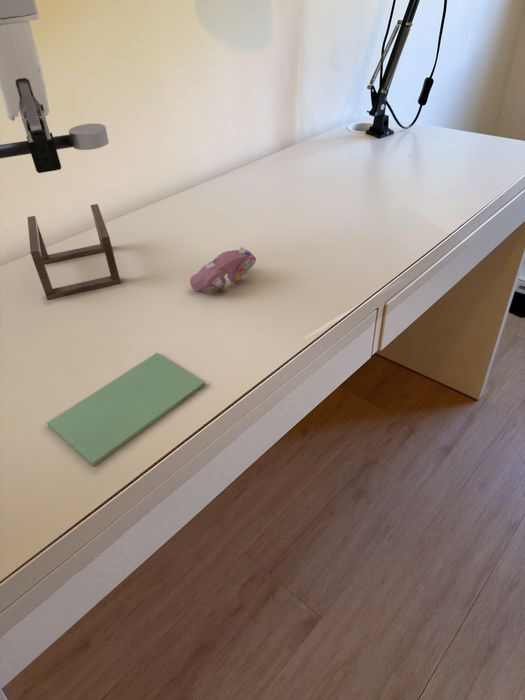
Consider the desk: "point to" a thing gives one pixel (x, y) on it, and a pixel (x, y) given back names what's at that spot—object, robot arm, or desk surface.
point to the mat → (124, 407)
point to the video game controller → (223, 269)
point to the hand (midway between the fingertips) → (48, 167)
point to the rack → (43, 258)
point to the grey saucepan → (65, 140)
